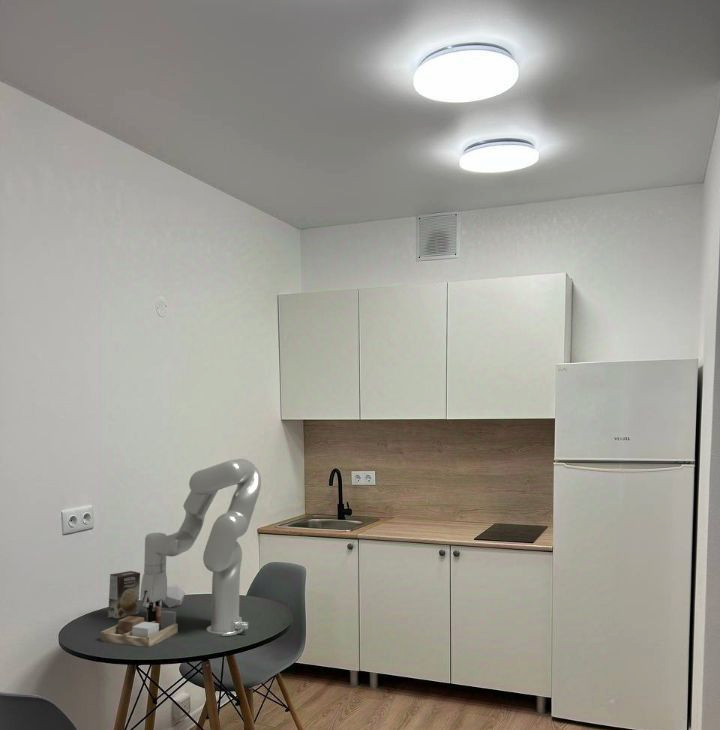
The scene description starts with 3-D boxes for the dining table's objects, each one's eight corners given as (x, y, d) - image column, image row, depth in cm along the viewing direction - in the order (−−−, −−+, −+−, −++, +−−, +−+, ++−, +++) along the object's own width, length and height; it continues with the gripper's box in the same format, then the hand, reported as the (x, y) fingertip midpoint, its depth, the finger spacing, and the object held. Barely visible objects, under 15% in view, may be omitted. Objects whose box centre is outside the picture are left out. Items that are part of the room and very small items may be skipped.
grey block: (176, 629, 241) (177, 612, 241) (147, 644, 225) (148, 625, 225) (162, 627, 243) (162, 610, 243) (132, 642, 227) (132, 623, 227)
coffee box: (117, 621, 253) (118, 576, 255) (107, 618, 257) (109, 574, 259) (139, 616, 261) (140, 572, 262) (129, 613, 265) (130, 570, 266)
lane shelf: (188, 629, 244) (189, 618, 244) (148, 650, 222) (149, 637, 223) (143, 624, 250) (144, 613, 250) (100, 644, 229) (100, 631, 229)
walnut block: (162, 623, 247) (162, 606, 248) (132, 637, 232) (133, 619, 232) (148, 622, 249) (148, 605, 250) (117, 635, 234) (118, 617, 234)
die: (184, 609, 272) (191, 586, 278) (165, 601, 268) (173, 577, 274) (173, 613, 277) (180, 590, 283) (154, 605, 273) (162, 582, 279)
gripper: (159, 563, 258) (157, 614, 256) (132, 572, 243) (131, 626, 241) (176, 564, 255) (175, 616, 254) (150, 573, 240) (149, 628, 239)
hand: (153, 620), depth 248 cm, fingers closed on walnut block
